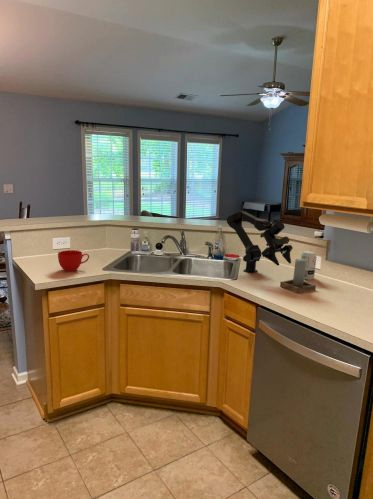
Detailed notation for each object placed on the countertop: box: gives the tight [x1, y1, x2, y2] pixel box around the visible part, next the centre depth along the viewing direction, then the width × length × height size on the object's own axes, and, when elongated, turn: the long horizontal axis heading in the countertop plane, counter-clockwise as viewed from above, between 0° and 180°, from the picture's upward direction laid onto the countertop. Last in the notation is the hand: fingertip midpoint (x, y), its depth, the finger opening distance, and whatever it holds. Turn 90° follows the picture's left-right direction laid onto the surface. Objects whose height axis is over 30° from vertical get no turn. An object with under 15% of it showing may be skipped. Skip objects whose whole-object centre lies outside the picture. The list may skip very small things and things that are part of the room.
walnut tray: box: [279, 279, 317, 295], centre depth 188 cm, size 12×12×2 cm
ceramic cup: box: [57, 249, 90, 273], centre depth 205 cm, size 13×17×10 cm
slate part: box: [292, 258, 306, 288], centre depth 186 cm, size 5×5×14 cm
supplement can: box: [300, 250, 317, 280], centre depth 205 cm, size 8×8×15 cm
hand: (284, 264), depth 194 cm, fingers open, 9 cm apart
